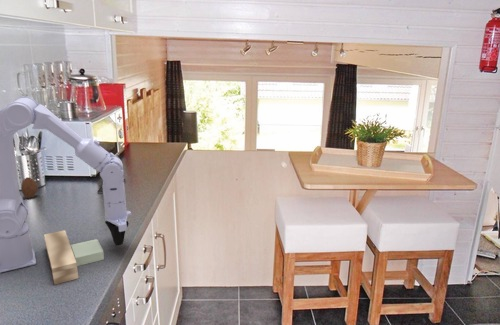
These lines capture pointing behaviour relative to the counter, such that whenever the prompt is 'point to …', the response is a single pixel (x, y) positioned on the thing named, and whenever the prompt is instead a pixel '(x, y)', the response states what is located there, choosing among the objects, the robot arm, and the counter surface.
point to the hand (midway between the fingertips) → (118, 243)
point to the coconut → (29, 187)
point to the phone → (102, 188)
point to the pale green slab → (87, 252)
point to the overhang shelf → (61, 257)
